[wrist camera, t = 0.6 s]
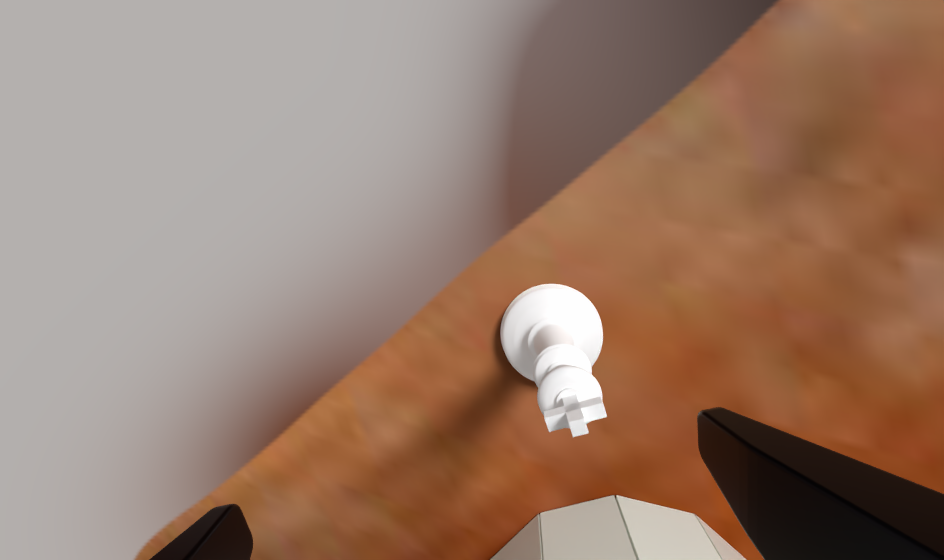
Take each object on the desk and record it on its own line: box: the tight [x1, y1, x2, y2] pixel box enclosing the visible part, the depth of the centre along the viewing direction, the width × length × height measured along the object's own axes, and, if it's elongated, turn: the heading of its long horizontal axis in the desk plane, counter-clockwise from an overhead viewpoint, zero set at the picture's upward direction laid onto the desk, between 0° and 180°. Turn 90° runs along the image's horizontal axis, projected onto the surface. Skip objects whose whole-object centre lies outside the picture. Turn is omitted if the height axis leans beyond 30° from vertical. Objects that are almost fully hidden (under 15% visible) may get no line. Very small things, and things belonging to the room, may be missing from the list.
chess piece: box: [500, 284, 607, 437], centre depth 17 cm, size 5×5×10 cm
